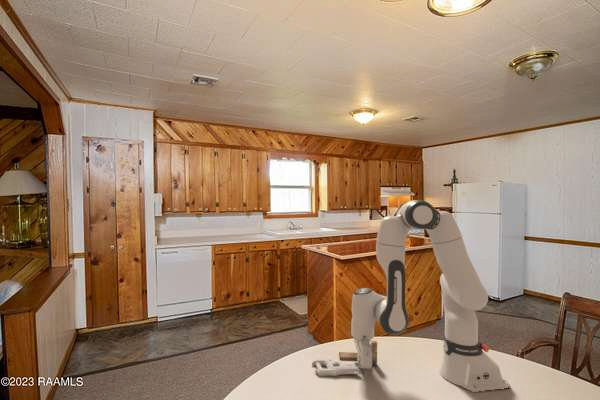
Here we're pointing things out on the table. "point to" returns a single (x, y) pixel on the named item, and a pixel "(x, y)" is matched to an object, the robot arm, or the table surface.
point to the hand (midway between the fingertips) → (362, 366)
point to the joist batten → (348, 356)
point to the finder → (358, 362)
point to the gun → (335, 367)
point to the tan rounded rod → (374, 352)
